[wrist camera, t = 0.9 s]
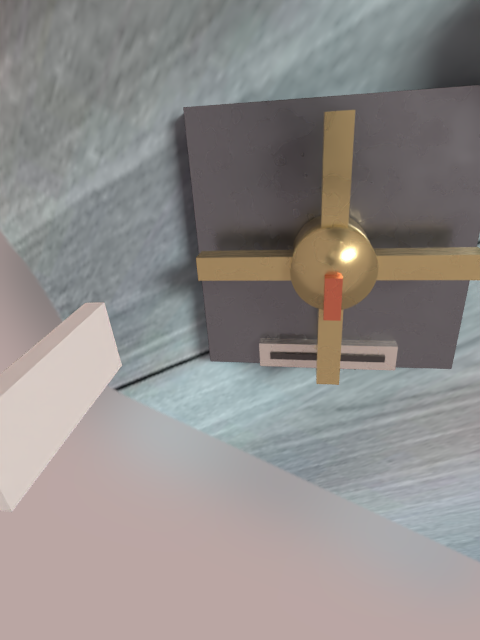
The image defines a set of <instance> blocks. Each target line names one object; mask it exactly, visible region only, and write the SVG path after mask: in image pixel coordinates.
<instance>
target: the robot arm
mask: <svg viewBox="0 0 480 640" xmlns="http://www.w3.org/2000/svg"><path fill="white" fill-rule="evenodd" d="M121 366H122V364H121V361H120V357H119V353H118V350H117V346H116V343H115V339H114V336H113V332H112V329H111V325H110V321H109V318H108V314H107V311H106V307H105V304H104V302H102V303H85V304H83V305H82V306H81V307H80V308H79V309H78V310H76V311H75V312H74V313H73V314H72V315H70V316H69V317H68V318H67V319H66V320H64V321H63V322H62V323H61V324H60V325H59V326H57V327H56V328H55V329H54V330H52V331H51V332H50V333H49V334H48V335H46V336H45V337H44V338H43V339H42V340H40V341H39V342H38V343H37V344H36V345H34V346H33V347H32V348H31V349H30V350H29V351H27V352H26V353H25V354H24V355H22V356H21V357H20V358H19V359H18V360H16V361H15V362H14V363H13V364H12V365H11V366H9V367H8V368H7V369H6V370H5V371H3V372H2V373H1V374H0V511H10V512H12V511H13V510H14V508H15V507H16V506H17V504H18V503H19V502H20V500H21V499H22V498H23V496H24V495H25V494H26V492H27V491H28V490H29V488H30V487H31V486H32V484H33V483H34V482H35V481H36V479H37V478H38V477H39V475H40V474H41V473H42V471H43V470H44V469H45V467H46V466H47V465H48V463H49V462H50V460H51V459H52V458H53V456H54V455H55V454H56V453H57V451H58V450H59V448H60V447H61V446H62V445H63V443H64V442H65V441H66V439H67V438H68V437H69V435H70V434H71V433H72V431H73V430H74V429H75V427H76V426H77V425H78V423H79V422H80V421H81V419H82V418H83V417H84V415H85V414H86V413H87V411H88V410H89V409H90V407H91V406H92V405H93V403H94V402H95V401H96V399H97V398H98V396H99V395H100V394H101V393H102V391H103V390H104V389H105V387H106V386H107V385H108V383H109V382H110V381H111V379H112V378H113V377H114V375H115V374H116V373H117V371H118V370H119V369H120V367H121Z"/></svg>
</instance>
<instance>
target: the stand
mask: <svg viewBox="0 0 480 640" xmlns="http://www.w3.org/2000/svg"><path fill="white" fill-rule="evenodd" d="M183 110H184V119H185V128H186V138H187V147H188V156H189V165H190V175H191V184H192V193H193V203H194V212H195V221H196V230H197V240H198V249H199V254H200V252H201V251H234V250H293V244H294V241H295V238H296V236H297V234H298V232H299V231H300V229H301V228H302V227H303V226H304V225H305V224H306V223H307V222H309V221H310V220H312V219H313V218H315V217H318V216H320V215H321V190H322V156H323V122H324V112H329V111H343V110H355V125H354V141H353V158H352V175H351V191H350V208H349V217H350V218H352V219H353V220H355V221H356V222H357V223H358V224H359V225H360V226H361V227H362V228H363V230H364V232H365V233H366V235H367V237H368V239H369V241H370V243H371V245H372V247H373V249H374V248H443V247H477V242H478V237H479V233H480V85H474V86H461V87H447V88H434V89H421V90H408V91H394V92H381V93H368V94H354V95H341V96H328V97H315V98H301V99H288V100H275V101H262V102H248V103H235V104H222V105H208V106H195V107H183ZM469 281H470V280H376V283H375V285H374V287H373V288H372V290H371V292H370V293H369V294H368V295H367V296H366V297H365V298H364V299H363V300H362V301H360V302H359V303H358V304H356V305H354V306H352V307H349V308H347V309H343V324H342V341H341V358H340V369H370V370H395V367H408V368H439V369H451V368H452V364H453V359H454V354H455V349H456V344H457V339H458V334H459V330H460V325H461V320H462V315H463V310H464V305H465V301H466V296H467V291H468V286H469ZM202 286H203V295H204V305H205V314H206V323H207V332H208V342H209V351H210V360H211V361H220V362H251V363H260V366H279V367H310V368H316V361H317V327H318V308H315V307H313V306H311V305H309V304H307V303H306V302H305V301H304V300H302V299H301V298H300V297H299V295H298V294H297V293H296V291H295V289H294V287H293V285H292V282H291V280H290V281H202Z"/></svg>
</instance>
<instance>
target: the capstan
mask: <svg viewBox="0 0 480 640" xmlns="http://www.w3.org/2000/svg"><path fill="white" fill-rule="evenodd" d="M354 125H355V110H343V111H329V112H324V122H323V156H322V190H321V215H320V216H318V217H315V218H313V219H312V220H310V221H309V222H307V223H306V224H305V225H304V226H303V227H302V228H301V229H300V231H299V232H298V234H297V236H296V238H295V241H294V244H293V250H234V251H201V252H200V254H199V255H198V256H197V257H196V263H197V272H198V281H290V280H291V282H292V285H293V287H294V289H295V291H296V293H297V294H298V295H299V297H300V298H301V299H302V300H304V301H305V302H306V303H307V304H309V305H311V306H313V307H315V308H318V327H317V361H316V382H317V384H335V385H339V374H340V358H341V341H342V324H343V309H347V308H349V307H352V306H354V305H356V304H358V303H359V302H360V301H362V300H363V299H364V298H365V297H366V296H367V295H368V294H369V293H370V292H371V290H372V288H373V287H374V285H375V283H376V280H480V248H478V247H443V248H374V249H373V247H372V245H371V243H370V241H369V239H368V237H367V235H366V233H365V232H364V230H363V228H362V227H361V226H360V225H359V224H358V223H357V222H356V221H355V220H353V219H352V218H350V217H349V208H350V191H351V175H352V158H353V141H354Z"/></svg>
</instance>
